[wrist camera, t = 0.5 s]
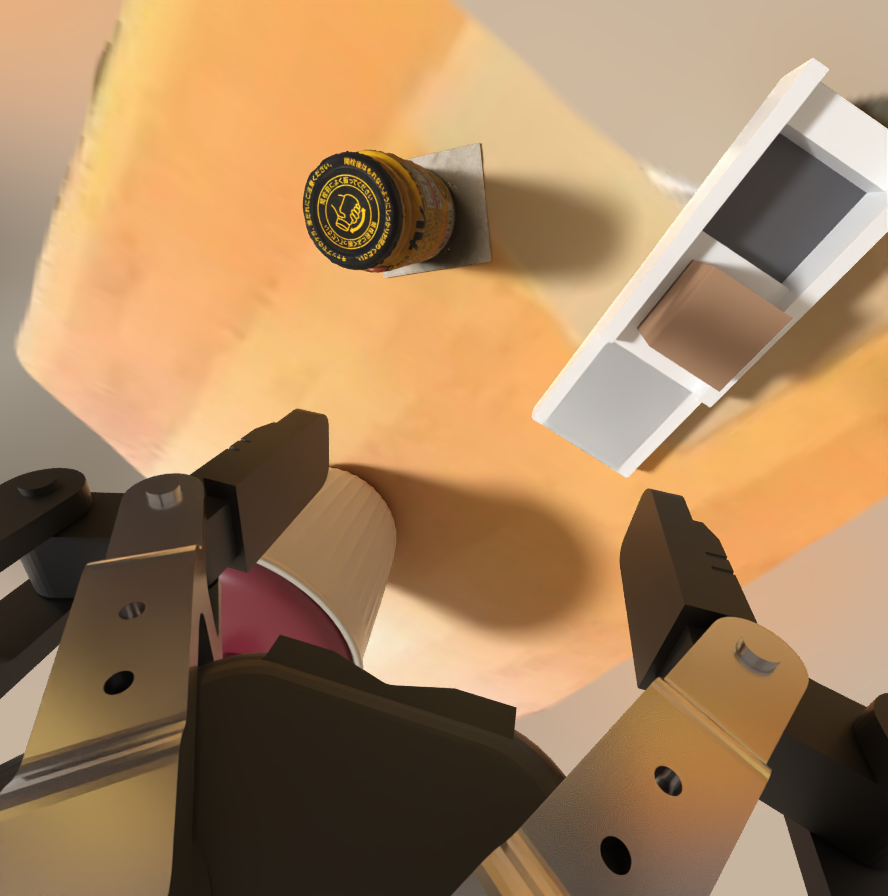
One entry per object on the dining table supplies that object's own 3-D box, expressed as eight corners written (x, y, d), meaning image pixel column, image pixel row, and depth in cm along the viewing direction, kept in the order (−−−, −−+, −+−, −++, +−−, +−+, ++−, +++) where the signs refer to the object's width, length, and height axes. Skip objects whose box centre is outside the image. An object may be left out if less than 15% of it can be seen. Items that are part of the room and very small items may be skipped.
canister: (340, 600, 53) (223, 801, 35) (231, 486, 49) (33, 648, 30) (459, 544, 45) (390, 767, 27) (343, 402, 41) (165, 552, 22)
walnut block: (692, 259, 28) (716, 266, 24) (757, 302, 28) (792, 318, 24) (636, 328, 30) (649, 346, 26) (697, 367, 31) (719, 391, 26)
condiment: (362, 169, 32) (266, 146, 21) (480, 143, 30) (436, 102, 19) (384, 278, 35) (309, 303, 24) (492, 261, 33) (460, 281, 22)
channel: (782, 77, 25) (812, 57, 22) (911, 167, 25) (959, 160, 22) (533, 408, 37) (530, 425, 34) (623, 466, 37) (629, 488, 34)
